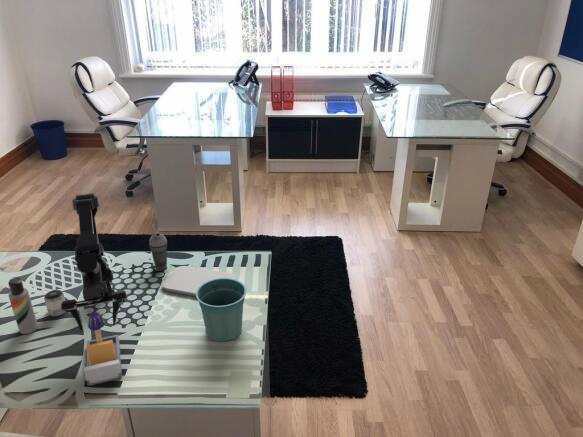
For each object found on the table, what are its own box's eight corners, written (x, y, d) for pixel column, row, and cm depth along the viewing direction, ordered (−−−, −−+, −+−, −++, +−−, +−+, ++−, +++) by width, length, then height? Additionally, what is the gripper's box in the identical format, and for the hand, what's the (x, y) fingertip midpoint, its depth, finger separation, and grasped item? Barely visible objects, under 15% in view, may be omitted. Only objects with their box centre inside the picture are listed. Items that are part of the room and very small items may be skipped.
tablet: (223, 303, 177) (222, 298, 176) (159, 291, 183) (159, 286, 182) (238, 279, 191) (238, 274, 190) (179, 269, 197) (179, 264, 196)
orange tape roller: (88, 346, 155) (84, 331, 152) (119, 339, 158) (116, 325, 155) (87, 386, 140) (83, 371, 137) (121, 378, 143) (119, 363, 140)
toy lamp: (110, 350, 152) (100, 308, 145) (113, 359, 149) (103, 316, 141) (94, 356, 150) (83, 313, 143) (97, 365, 146) (86, 321, 139)
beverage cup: (165, 273, 194) (160, 229, 185) (149, 271, 195) (142, 227, 186) (173, 263, 200) (168, 221, 191) (157, 261, 201) (151, 219, 192)
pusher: (91, 365, 146) (86, 345, 143) (116, 359, 149) (112, 339, 145) (91, 367, 145) (86, 347, 142) (116, 362, 148) (112, 342, 144)
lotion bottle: (23, 323, 165) (9, 275, 155) (40, 323, 165) (27, 274, 156) (16, 334, 159) (1, 285, 150) (34, 334, 160) (19, 284, 151)
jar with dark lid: (68, 313, 170) (64, 295, 166) (49, 319, 167) (44, 300, 163) (65, 304, 175) (61, 286, 171) (47, 309, 172) (42, 291, 168)
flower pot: (190, 326, 165) (187, 288, 157) (231, 309, 174) (230, 272, 166) (214, 353, 153) (211, 313, 146) (257, 333, 162) (256, 294, 155)
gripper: (55, 280, 141) (60, 332, 137) (121, 268, 147) (128, 319, 143) (62, 287, 151) (67, 336, 147) (123, 276, 157) (130, 323, 153)
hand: (98, 328), depth 147 cm, fingers open, 9 cm apart
